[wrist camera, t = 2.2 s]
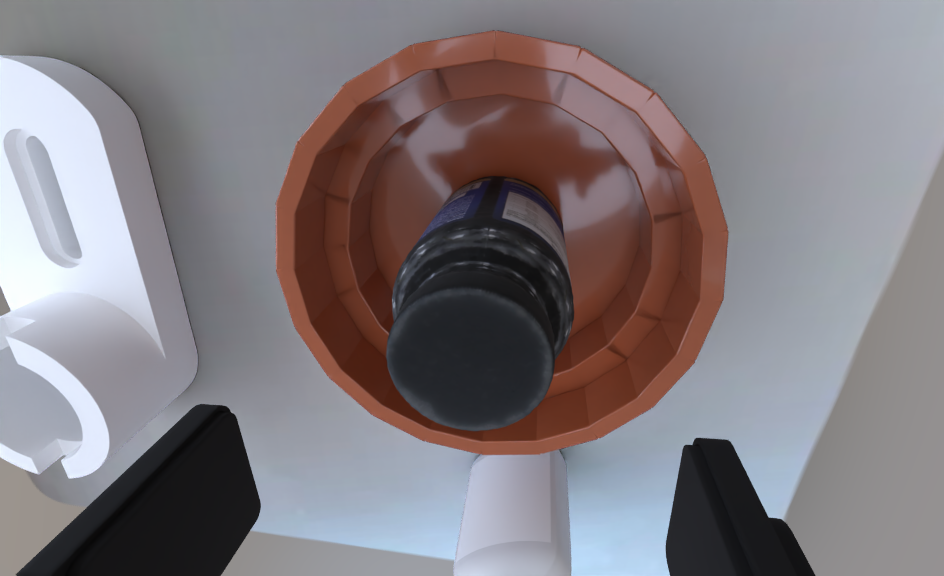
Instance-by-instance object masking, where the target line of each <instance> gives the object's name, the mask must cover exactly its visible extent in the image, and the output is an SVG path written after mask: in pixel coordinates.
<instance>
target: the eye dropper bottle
mask: <svg viewBox="0 0 944 576" xmlns="http://www.w3.org/2000/svg"><path fill="white" fill-rule="evenodd" d="M453 573H454V576H571V542H570V522H569V502H568V484H567V468H566V463H565V461H564V458H563V457H562V455H561V453H560V451H559V450H555V451H551V452H547V453H544V454H540V455H481V456H479V457H478V458H477V459H476V460H475V461H474V463H473V465H472V467H471V470H470V476H469V481H468V487H467V492H466V498H465V503H464V509H463V514H462V520H461V526H460V531H459V537H458V543H457V549H456V555H455V562H454V572H453Z"/></svg>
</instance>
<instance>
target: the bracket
mask: <svg viewBox="0 0 944 576" xmlns="http://www.w3.org/2000/svg"><path fill="white" fill-rule="evenodd" d="M0 286H1V288H2V291H3V293H4V295H5V298H6V300H7V302H8V305H9V307H10V309H11V312H9V313H7V314H4V315H2V316H0V457H1V458H3V459H5V460H7V461H8V462H10V463H12V464H14V465H16V466H18V467H20V468H22V469H25V470H27V471H30V472H33V473H36V474H40V473H42V472H43V471H44V470H45V469H47V468H48V467H49V466H50V465H51V464H53V463H54V462H55V461H56V460H58V459H59V458H60V457H61V456H63V455H67V456H66V457H65V458H64V459H62V460H61V462H62V464H63V466H64V469H65V471H66V473H67V475H68V478H78V477H82V476H85V475H88V474H90V473H92V472H94V471H95V470H97V469H98V468H99V467H100V466H101V465H103V464H104V463H105V462H106V461H107V460H108V459H109V458H110V457H111V456H113V455H114V454H115V453H116V452H117V451H118V450H119V449H120V448H121V447H122V446H124V445H125V444H126V443H127V442H128V441H129V440H130V439H131V438H132V437H134V436H135V435H136V434H137V433H138V432H139V431H140V430H141V429H142V428H144V427H145V426H146V425H147V424H148V423H149V422H150V421H151V420H152V419H153V418H155V417H156V416H157V415H158V414H159V413H160V412H161V411H162V410H163V409H165V408H166V407H167V406H168V405H169V404H170V403H171V402H172V401H173V400H174V399H176V398H177V397H178V396H179V395H180V394H181V393H182V392H183V391H184V390H186V389H187V388H188V387H189V385H190V384H191V383H192V381H193V380H194V378H195V375H196V372H197V367H198V353H197V349H196V345H195V341H194V337H193V334H192V330H191V326H190V322H189V318H188V314H187V310H186V306H185V302H184V299H183V295H182V291H181V287H180V283H179V279H178V275H177V271H176V267H175V264H174V260H173V256H172V252H171V248H170V244H169V240H168V236H167V232H166V228H165V225H164V221H163V217H162V213H161V209H160V205H159V201H158V197H157V193H156V190H155V186H154V182H153V178H152V174H151V170H150V166H149V162H148V158H147V154H146V151H145V147H144V143H143V139H142V135H141V131H140V127H139V124H138V121H137V118H136V116H135V114H134V113H133V111H132V110H131V108H130V107H129V106H128V105H127V104H126V103H125V102H124V101H123V100H122V99H121V98H120V96H118V95H117V94H116V93H115V92H114V91H113V90H112V89H111V88H110V87H108V86H107V85H106V84H104V83H103V82H102V81H101V80H99V79H98V78H96V77H95V76H93V75H92V74H90V73H88V72H86V71H85V70H83V69H81V68H79V67H77V66H75V65H72V64H70V63H68V62H64V61H61V60H58V59H54V58H49V57H41V56H3V55H0Z"/></svg>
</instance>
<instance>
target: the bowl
mask: <svg viewBox="0 0 944 576" xmlns="http://www.w3.org/2000/svg"><path fill="white" fill-rule="evenodd" d="M488 176H505V177H509V178H517V179H520V180H523V181H525V182H528V183H530V184H532V185H534V186H536V187H537V188H539V189H540V190H541V191H542V192H543V193H544V194H545V195H546V196H547V198H548V199H549V200H550V201H551V202H552V204H553V205H554V206H555V207H556V209H557V211H558V214H559V216H560V219H561V221H562V224H563V229H564V239H565V245H566V252H567V259H568V267H569V273H570V279H571V287H572V293H573V298H574V299H573V303H574V321H573V324H572V329H571V331H570V335H569V337H568V340H567V342H566V344H565V346H564V348H563V350H562V352H561V353H560V354H559V355H558V357H557V358H556V360H555V368H554V373H553V379H552V382H551V384H550V387H549V389H548V391H547V394H546V395H545V397H544V399H543V400H542V401H541V403H540V404H539V405H538V406H537V407H536V408H534V409H533V411H532V412H531V413H530V414H529V415H527V416H526V417H525V418H523V419H520V420H519V421H517V422H515V423H513V424H511V425H508V426H506V427H502V428H498V429H492V430H487V431H486V430H483V431H482V430H480V431H467V430H461V429H455V428H451V427H449V426H444V425H441V424H439V423H436V422H434V421H433V420H430V419H428V418H427V417H426V416H423V415H422V414H421V413H419V412H418V411H417V410H415V409H414V408H413V407H411V405H410V404H409V403H408V402H407V401H406V400H405V399H404V398H403V396H402V395H401V394H400V393H399V391H398V390H397V389H396V387H395V385H394V383H393V380H392V379H391V376H390V373H389V370H388V367H387V359H386V349H387V340H388V336H389V332H390V330H391V327H392V325H393V323H394V320H393V311H392V295H393V287H394V283H395V280H396V277H397V274H398V271H399V269H400V267H401V265H402V263H403V262H404V261H405V259H406V257H407V255H408V254H409V252H410V251H411V250H412V249H413V247H414V246H415V244H416V243H417V242H418V240H419V239H420V237H421V236H422V234H423V233H424V232H425V230H426V229H427V227H428V226H429V224H430V223H431V221H432V220H433V219H434V217H435V216H436V214H437V213H438V211H439V210H440V209H441V207H442V206H443V204H444V203H445V202H446V201H447V199H448V198H449V197H450V196H451V195H452V194H453V193H454V192H455V191H457V190H458V189H459V188H460V187H461V186H463V185H465V184H468V183H469V182H471V181H473V180H477V179H479V178H482V177H488ZM727 245H728V227H727V224H726V220H725V217H724V214H723V210H722V207H721V204H720V200H719V197H718V194H717V190H716V187H715V184H714V180H713V177H712V174H711V170H710V167H709V164H708V160H707V158H706V156H705V154H704V153H703V151H702V150H701V149H700V148H699V146H698V145H697V144H696V142H695V141H694V140H693V139H692V137H691V136H690V135H689V133H688V132H687V131H686V130H685V128H684V127H683V126H682V124H681V123H680V122H679V121H678V119H677V118H676V117H675V115H674V114H673V113H672V112H671V110H670V109H669V108H668V106H667V105H666V104H665V103H664V101H663V100H662V99H661V97H660V96H659V95H658V94H657V93H656V92H654V90H653V89H651V88H649V87H648V86H646V85H644V84H643V83H641V82H639V81H638V80H636V79H634V78H633V77H631V76H630V75H628V74H626V73H625V72H623V71H621V70H620V69H618V68H616V67H615V66H613V65H611V64H610V63H608V62H607V61H605V60H603V59H602V58H600V57H598V56H597V55H595V54H593V53H592V52H590V51H588V50H587V49H585V48H581V47H580V46H577V45H572V44H566V43H561V42H556V41H551V40H545V39H540V38H535V37H530V36H524V35H519V34H514V33H509V32H504V31H494V30H493V31H487V32H481V33H475V34H469V35H463V36H457V37H451V38H445V39H439V40H434V41H428V42H422V43H416V44H413V45H410V46H408V47H406V48H405V49H403V50H401V51H399V52H398V53H396V54H394V55H393V56H391V57H389V58H387V59H386V60H384V61H382V62H381V63H379V64H377V65H375V66H374V67H372V68H370V69H369V70H367V71H365V72H363V73H362V74H360V75H358V76H356V77H355V78H353V79H351V80H350V81H348V82H346V83H345V84H344V85H343V86H342V87H341V88H340V89H339V90H338V92H337V93H336V94H335V95H334V97H333V98H332V99H331V100H330V102H329V103H328V104H327V105H326V106H325V108H324V109H323V110H322V111H321V113H320V114H319V115H318V116H317V117H316V119H315V120H314V121H313V122H312V124H311V125H310V126H309V127H308V129H307V130H306V131H305V132H304V133H303V135H302V136H301V137H300V138H299V140H298V141H297V143H296V146H295V149H294V152H293V155H292V158H291V161H290V163H289V166H288V169H287V172H286V175H285V178H284V181H283V184H282V187H281V190H280V193H279V196H278V199H277V201H276V268H277V269H276V272H277V275H278V278H279V281H280V284H281V287H282V291H283V294H284V297H285V300H286V303H287V306H288V309H289V312H290V315H291V318H292V321H293V324H294V327H295V329H296V330H297V332H298V333H299V335H300V336H301V338H302V339H303V341H304V342H305V344H306V345H307V346H308V348H309V349H310V351H311V352H312V354H313V355H314V357H315V358H316V360H317V361H318V363H319V364H320V366H321V367H322V369H323V370H324V372H325V373H326V374H327V376H329V378H330V379H331V380H332V381H334V382H335V383H336V384H337V385H338V386H339V387H340V388H342V389H343V390H344V391H345V392H346V393H347V394H348V395H350V396H351V397H352V398H353V399H354V400H355V401H357V402H358V403H359V404H360V405H361V406H362V407H363V408H365V409H366V410H367V411H368V412H369V413H370V414H372V415H373V416H375V417H377V418H379V419H381V420H383V421H385V422H387V423H389V424H391V425H393V426H395V427H396V428H398V429H400V430H402V431H404V432H406V433H408V434H410V435H412V436H414V437H416V438H418V439H420V440H422V441H426V442H429V443H434V444H438V445H442V446H446V447H451V448H455V449H459V450H463V451H468V452H472V453H476V454H482V455H540V454H544V453H547V452H551V451H555V450H559V449H563V448H566V447H570V446H574V445H578V444H582V443H585V442H589V441H593V440H597V439H598V438H601V437H603V436H605V435H607V434H608V433H610V432H612V431H614V430H615V429H617V428H619V427H620V426H622V425H624V424H626V423H627V422H629V421H631V420H632V419H634V418H636V417H638V416H639V415H641V414H643V413H644V412H646V411H648V410H650V409H651V408H653V407H654V406H655V405H656V404H657V403H658V401H659V400H660V399H661V398H662V397H663V396H664V395H665V394H666V393H667V392H668V391H669V390H670V389H671V388H672V386H673V385H674V384H675V383H676V382H677V381H678V380H679V379H680V378H681V377H682V376H683V375H684V374H685V373H686V371H687V370H688V369H689V368H690V367H691V366H692V365H693V364H694V363H695V360H696V359H697V356H698V354H699V352H700V350H701V348H702V345H703V343H704V341H705V339H706V337H707V334H708V332H709V330H710V328H711V326H712V323H713V321H714V319H715V317H716V315H717V312H718V310H719V308H720V306H721V304H722V301H723V297H724V284H725V271H726V258H727Z"/></svg>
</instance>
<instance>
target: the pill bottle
mask: <svg viewBox="0 0 944 576" xmlns="http://www.w3.org/2000/svg"><path fill="white" fill-rule="evenodd" d="M573 299H574V298H573V293H572V287H571V279H570V273H569V267H568V259H567V252H566V245H565V239H564V229H563V224H562V221H561V219H560V216H559V214H558V211H557V209H556V207H555V206H554V205H553V204H552V202H551V201H550V200H549V199H548V198H547V196H546V195H545V194H544V193H543V192H542V191H541V190H540V189H539V188H537V187H536V186H534V185H532V184H530V183H528V182H525V181H523V180H520V179H517V178H509V177H505V176H488V177H482V178H479V179H477V180H473V181H471V182H469V183H468V184H465V185H463V186H461V187H460V188H459V189H458V190H457V191H455V192H454V193H453V194H452V195H451V196H450V197H449V198H448V199H447V201H446V202H445V203H444V204H443V206H442V207H441V209H440V210H439V211H438V213H437V214H436V216H435V217H434V219H433V220H432V221H431V223H430V224H429V226H428V227H427V229H426V230H425V232H424V233H423V234H422V236H421V237H420V239H419V240H418V242H417V243H416V244H415V246H414V247H413V249H412V250H411V251H410V252H409V254H408V255H407V257H406V259H405V261H404V262H403V263H402V265H401V267H400V269H399V271H398V274H397V277H396V280H395V283H394V287H393V295H392V311H393V320H394V323H393V325H392V327H391V330H390V332H389V336H388V340H387V349H386V359H387V367H388V370H389V373H390V376H391V379H392V380H393V383H394V385H395V387H396V389H397V390H398V391H399V393H400V394H401V395H402V396H403V398H404V399H405V400H406V401H407V402H408V403H409V404H410V405H411V407H413V408H414V409H415V410H417V411H418V412H419V413H421V414H422V415H423V416H426V417H427V418H428V419H430V420H433V421H434V422H436V423H439V424H441V425H444V426H449V427H451V428H455V429H461V430H467V431H480V430H482V431H483V430H486V431H487V430H492V429H498V428H502V427H506V426H508V425H511V424H513V423H515V422H517V421H519V420H520V419H523V418H525V417H526V416H527V415H529V414H530V413H531V412H532V411H533V409H534V408H536V407H537V406H538V405H539V404H540V403H541V401H542V400H543V399H544V397H545V395H546V394H547V391H548V389H549V387H550V384H551V382H552V379H553V373H554V368H555V360H556V358H557V357H558V355H559V354H560V353H561V352H562V350H563V348H564V346H565V344H566V342H567V340H568V337H569V335H570V331H571V329H572V324H573V321H574V303H573Z"/></svg>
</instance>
